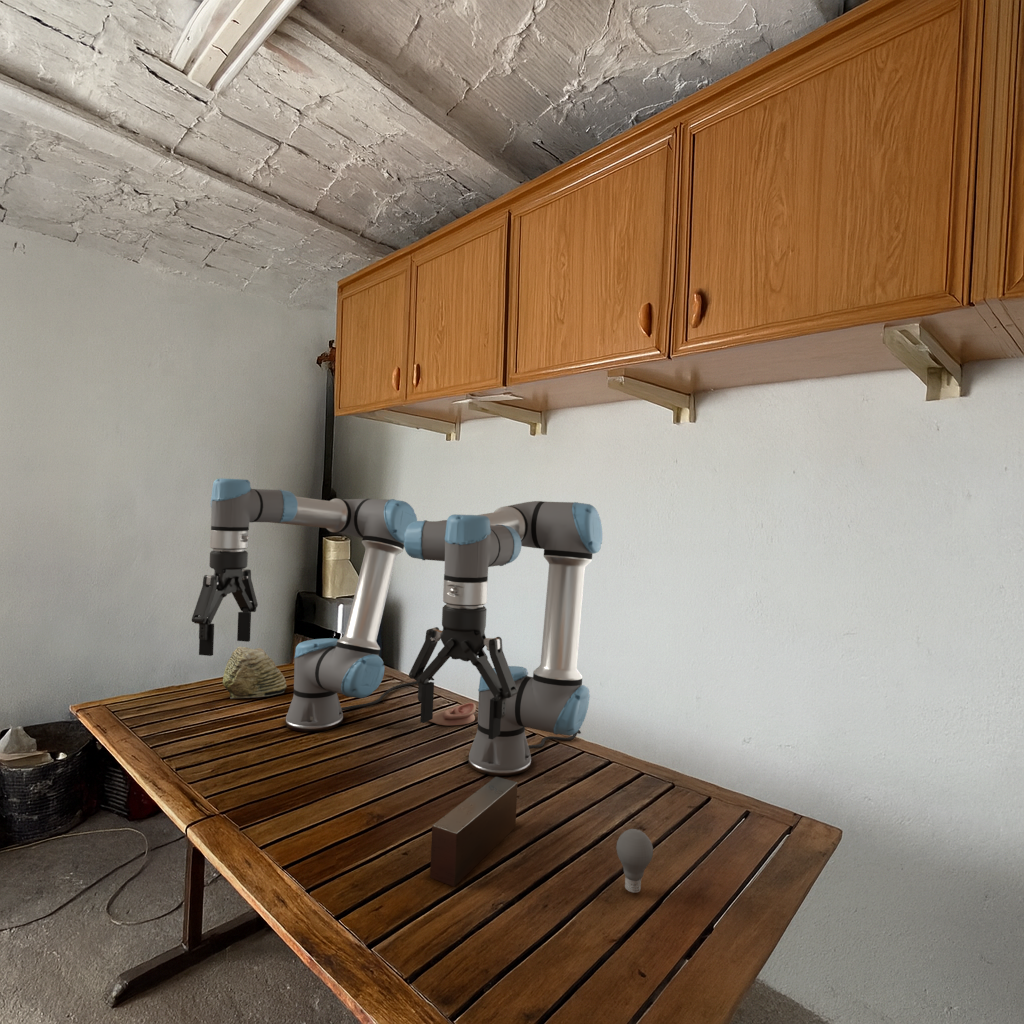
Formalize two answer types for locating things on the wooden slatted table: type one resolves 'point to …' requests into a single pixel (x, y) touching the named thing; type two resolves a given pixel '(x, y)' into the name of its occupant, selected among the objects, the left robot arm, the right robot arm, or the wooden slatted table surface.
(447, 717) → the anatomical model
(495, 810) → the bar
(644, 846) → the light bulb
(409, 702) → the wooden slatted table surface
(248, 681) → the fossil
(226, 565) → the left robot arm
